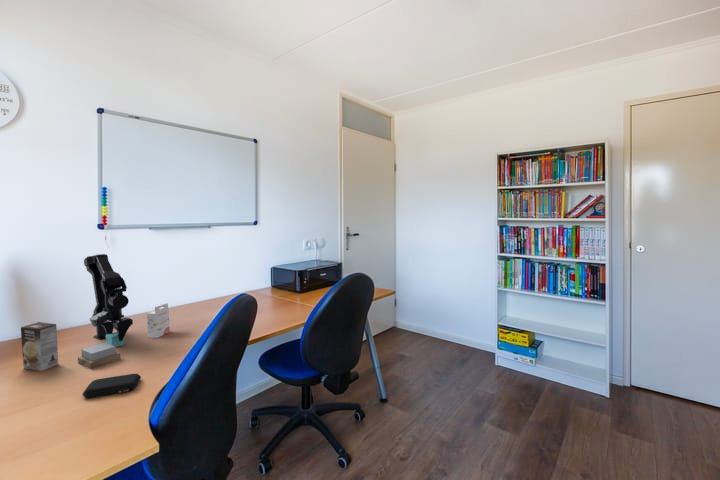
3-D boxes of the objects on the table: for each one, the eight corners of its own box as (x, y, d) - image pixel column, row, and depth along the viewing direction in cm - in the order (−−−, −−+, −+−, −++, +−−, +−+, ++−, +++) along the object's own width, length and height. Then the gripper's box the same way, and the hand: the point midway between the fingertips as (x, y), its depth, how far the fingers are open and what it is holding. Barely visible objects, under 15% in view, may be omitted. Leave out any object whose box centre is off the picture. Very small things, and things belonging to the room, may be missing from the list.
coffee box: (22, 368, 127) (19, 327, 126) (41, 361, 134) (38, 321, 132) (41, 371, 125) (38, 328, 124) (59, 363, 132) (57, 323, 131)
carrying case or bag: (79, 403, 105) (135, 393, 111) (78, 394, 105) (135, 384, 111) (91, 387, 115) (142, 379, 121) (90, 378, 115) (141, 370, 120)
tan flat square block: (78, 364, 132) (77, 357, 132) (107, 355, 141) (106, 348, 141) (91, 370, 127) (90, 363, 127) (120, 360, 136) (120, 353, 136)
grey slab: (81, 356, 132) (81, 349, 132) (105, 349, 139) (104, 342, 139) (92, 361, 129) (91, 353, 128) (115, 353, 136) (115, 346, 135)
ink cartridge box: (161, 331, 169) (160, 302, 168) (170, 332, 168) (169, 302, 167) (147, 337, 160) (146, 306, 159) (156, 338, 159) (155, 307, 158)
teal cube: (106, 346, 150) (105, 334, 150) (118, 342, 154) (118, 331, 154) (112, 348, 148) (111, 336, 147) (124, 344, 152) (124, 333, 152)
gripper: (81, 306, 147) (83, 341, 148) (103, 312, 138) (105, 349, 139) (110, 300, 157) (111, 333, 158) (132, 305, 148) (134, 340, 149)
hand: (115, 339), depth 151 cm, fingers open, 9 cm apart
